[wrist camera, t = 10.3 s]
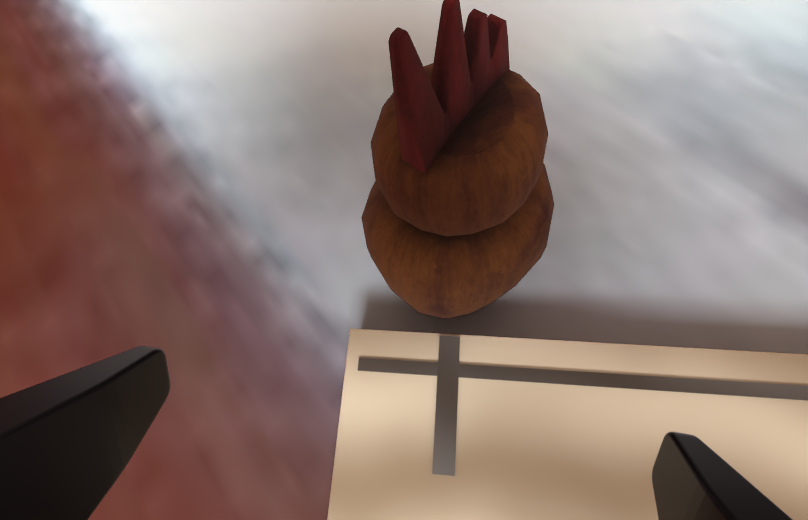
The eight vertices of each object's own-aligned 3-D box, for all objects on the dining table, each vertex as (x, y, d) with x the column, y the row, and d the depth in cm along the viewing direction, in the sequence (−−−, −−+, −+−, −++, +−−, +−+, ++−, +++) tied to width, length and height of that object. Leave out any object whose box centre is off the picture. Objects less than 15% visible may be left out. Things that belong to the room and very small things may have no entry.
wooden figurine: (425, 359, 21) (376, 176, 7) (361, 255, 23) (227, -43, 9) (555, 279, 22) (734, -25, 8) (481, 185, 24) (523, -186, 10)
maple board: (946, 729, 15) (1019, 769, 13) (324, 647, 18) (308, 671, 16) (856, 368, 19) (901, 359, 18) (359, 339, 22) (349, 327, 20)
